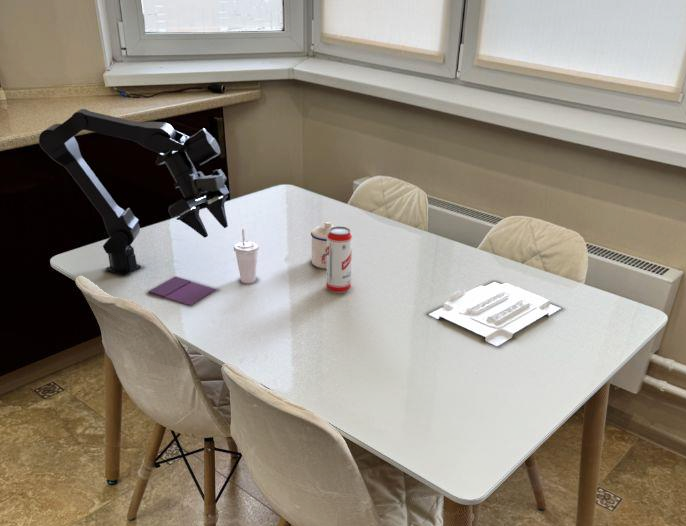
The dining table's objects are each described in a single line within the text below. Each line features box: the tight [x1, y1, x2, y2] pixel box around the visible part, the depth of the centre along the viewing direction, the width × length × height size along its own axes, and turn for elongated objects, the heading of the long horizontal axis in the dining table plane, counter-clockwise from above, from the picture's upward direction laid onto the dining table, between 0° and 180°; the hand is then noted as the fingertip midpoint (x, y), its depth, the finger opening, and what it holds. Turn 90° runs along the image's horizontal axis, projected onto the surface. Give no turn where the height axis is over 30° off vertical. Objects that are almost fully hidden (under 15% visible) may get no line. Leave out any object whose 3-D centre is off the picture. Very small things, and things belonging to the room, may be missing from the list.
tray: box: [428, 281, 561, 347], centre depth 170 cm, size 20×28×4 cm
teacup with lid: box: [310, 221, 336, 270], centre depth 189 cm, size 12×9×12 cm
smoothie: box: [233, 228, 260, 284], centre depth 177 cm, size 6×6×14 cm
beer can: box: [325, 225, 353, 294], centre depth 174 cm, size 6×6×16 cm
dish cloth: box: [148, 276, 217, 306], centre depth 173 cm, size 13×10×1 cm
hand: (216, 231), depth 172 cm, fingers open, 9 cm apart
